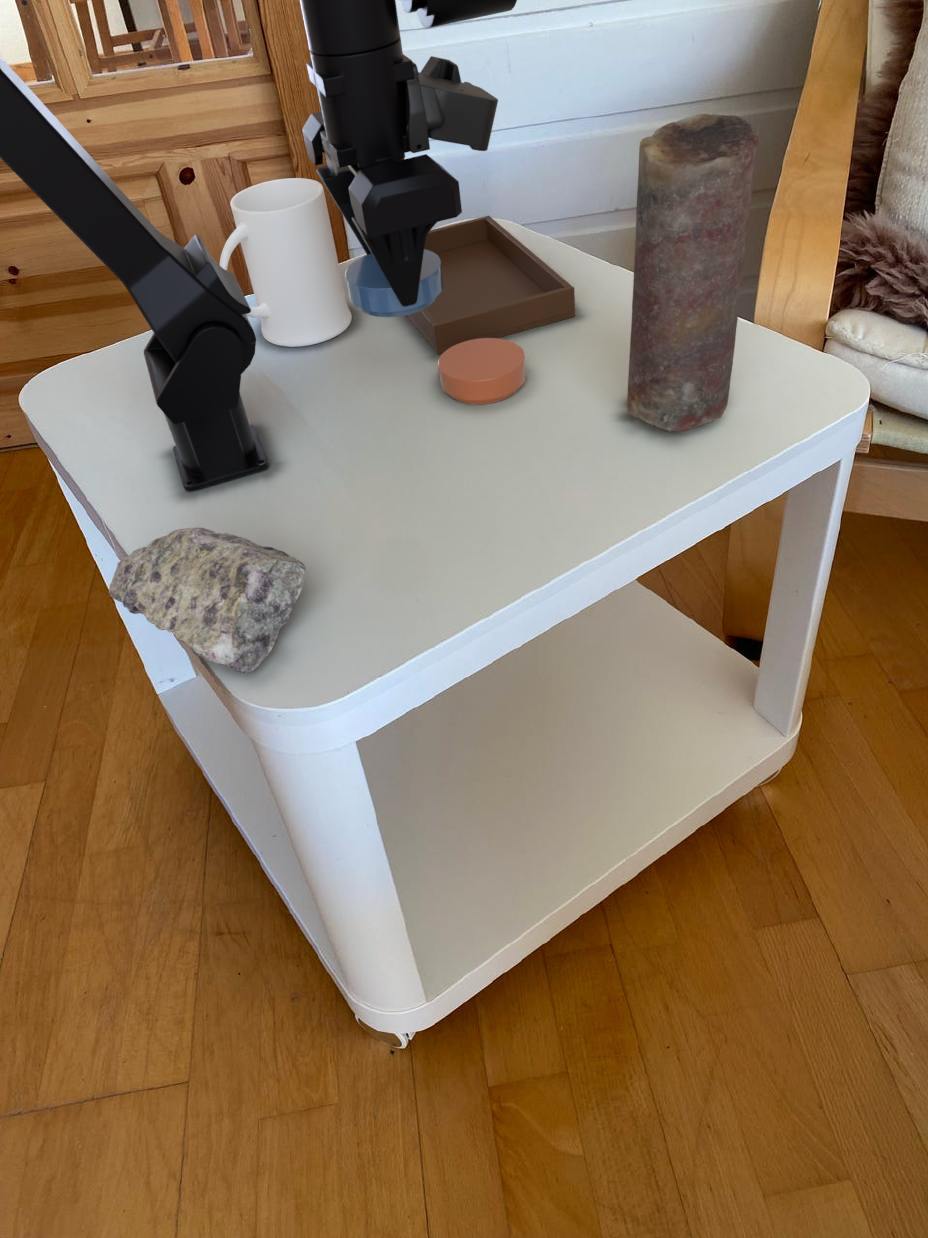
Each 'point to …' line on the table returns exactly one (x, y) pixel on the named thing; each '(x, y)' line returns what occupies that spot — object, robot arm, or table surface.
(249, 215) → the mug
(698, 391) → the brown stone pillar
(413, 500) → the table surface
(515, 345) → the puck terracotta
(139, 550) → the rock
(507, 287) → the tray
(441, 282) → the blue puck
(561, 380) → the table surface
